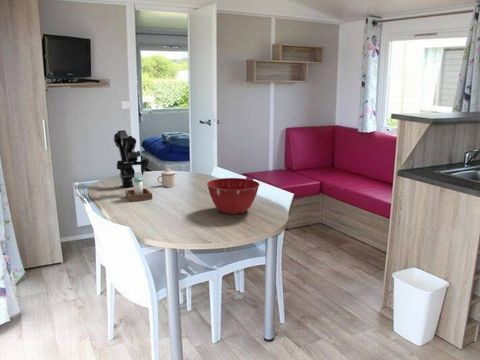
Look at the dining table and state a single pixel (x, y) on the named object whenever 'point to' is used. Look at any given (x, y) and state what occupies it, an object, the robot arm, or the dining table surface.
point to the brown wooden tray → (132, 197)
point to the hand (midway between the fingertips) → (135, 175)
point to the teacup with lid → (167, 178)
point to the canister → (138, 186)
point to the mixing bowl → (233, 194)
